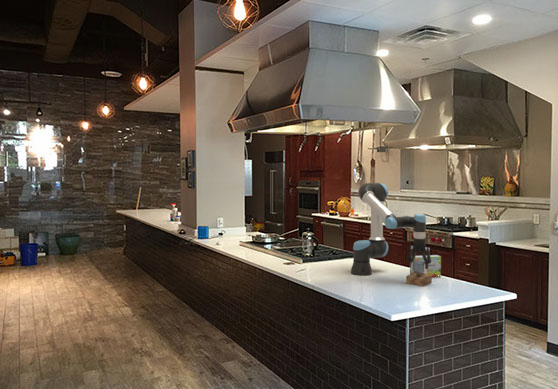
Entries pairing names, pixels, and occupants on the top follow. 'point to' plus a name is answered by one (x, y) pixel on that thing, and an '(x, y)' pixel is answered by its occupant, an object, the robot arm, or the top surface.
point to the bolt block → (418, 279)
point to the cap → (418, 266)
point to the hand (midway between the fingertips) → (418, 272)
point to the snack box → (431, 266)
